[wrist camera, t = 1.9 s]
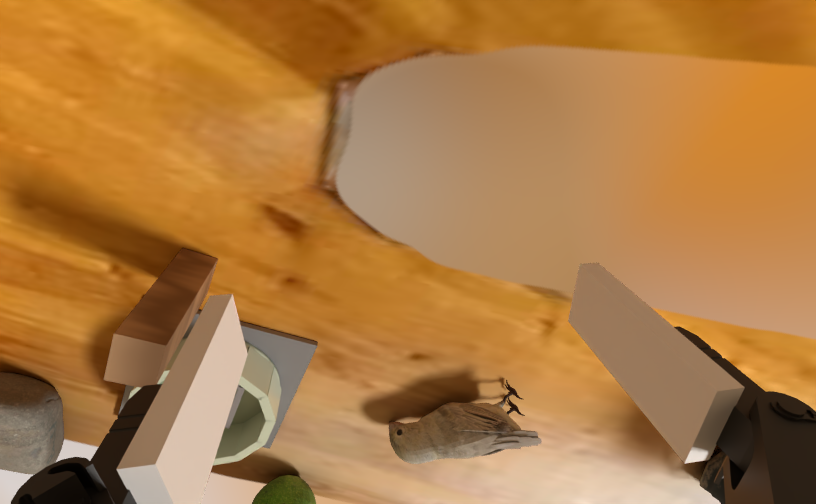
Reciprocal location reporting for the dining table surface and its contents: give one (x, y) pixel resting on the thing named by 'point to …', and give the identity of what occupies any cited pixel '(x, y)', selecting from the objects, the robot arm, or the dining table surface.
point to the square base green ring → (256, 388)
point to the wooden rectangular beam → (159, 321)
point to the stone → (29, 424)
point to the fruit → (285, 492)
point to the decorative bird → (460, 432)
